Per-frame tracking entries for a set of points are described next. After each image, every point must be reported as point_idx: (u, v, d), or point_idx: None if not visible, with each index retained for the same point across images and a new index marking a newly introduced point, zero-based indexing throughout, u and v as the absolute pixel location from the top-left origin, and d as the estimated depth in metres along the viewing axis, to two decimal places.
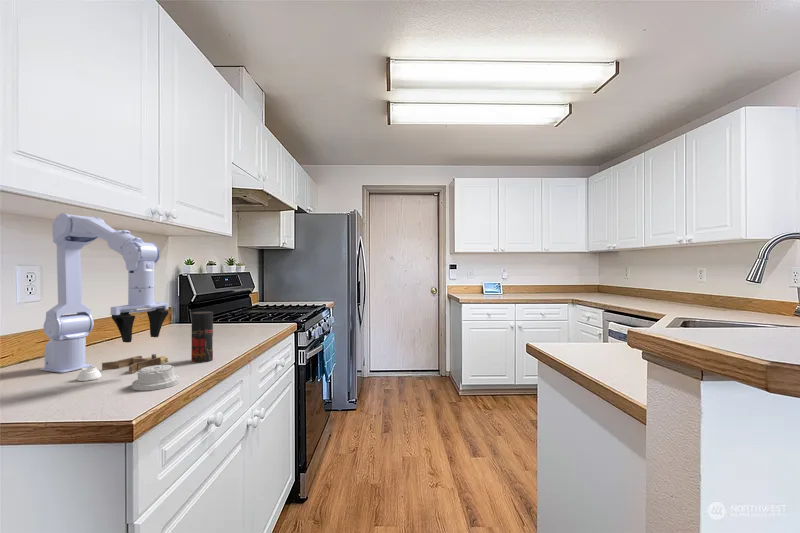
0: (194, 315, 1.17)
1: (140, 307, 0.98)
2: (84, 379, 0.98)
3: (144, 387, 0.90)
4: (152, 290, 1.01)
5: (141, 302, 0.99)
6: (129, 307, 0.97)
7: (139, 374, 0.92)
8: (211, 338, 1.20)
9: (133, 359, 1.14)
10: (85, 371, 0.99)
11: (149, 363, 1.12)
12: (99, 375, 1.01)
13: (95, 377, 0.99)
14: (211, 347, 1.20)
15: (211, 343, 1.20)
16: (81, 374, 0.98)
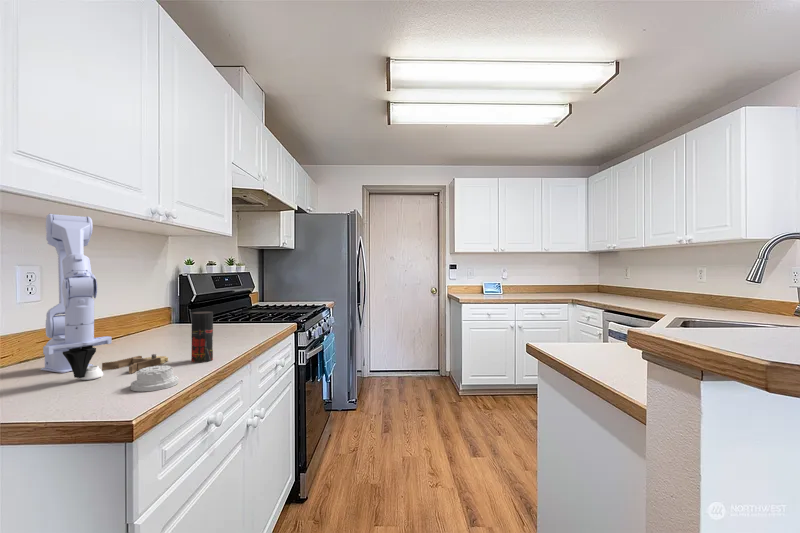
0: (194, 315, 1.17)
1: (76, 345, 0.95)
2: (86, 378, 0.98)
3: (143, 388, 0.90)
4: (91, 326, 0.98)
5: (78, 340, 0.96)
6: (64, 346, 0.93)
7: (138, 375, 0.92)
8: (211, 338, 1.20)
9: (133, 359, 1.14)
10: (87, 370, 0.99)
11: (149, 363, 1.12)
12: (101, 374, 1.01)
13: (97, 376, 1.00)
14: (211, 347, 1.20)
15: (211, 343, 1.20)
16: None
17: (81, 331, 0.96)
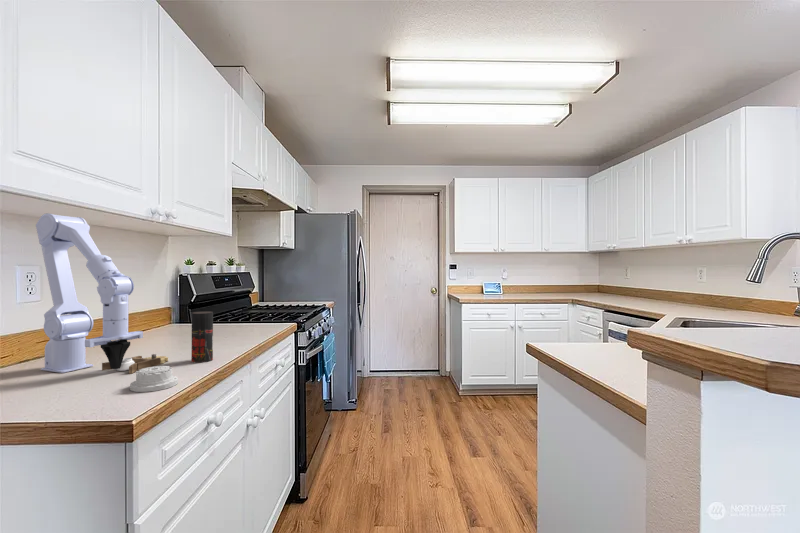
0: (194, 315, 1.17)
1: (114, 338, 1.04)
2: (122, 369, 1.07)
3: (142, 389, 0.89)
4: (126, 321, 1.07)
5: (115, 334, 1.04)
6: (103, 339, 1.02)
7: (137, 375, 0.91)
8: (211, 338, 1.20)
9: (133, 359, 1.14)
10: (122, 361, 1.08)
11: (149, 363, 1.12)
12: None
13: None
14: (211, 347, 1.20)
15: (211, 343, 1.20)
16: None
17: (118, 326, 1.05)
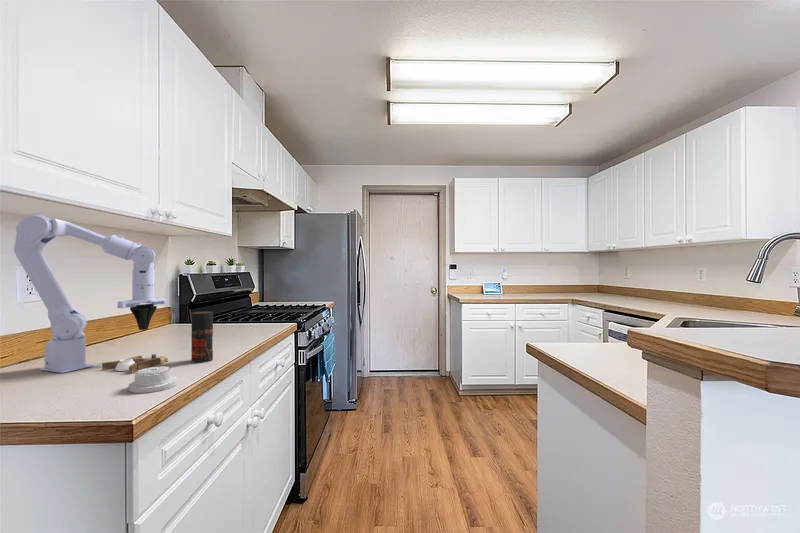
0: (194, 315, 1.17)
1: (142, 302, 1.16)
2: (122, 369, 1.07)
3: (141, 390, 0.89)
4: (152, 287, 1.19)
5: (143, 298, 1.16)
6: (133, 302, 1.14)
7: (136, 376, 0.91)
8: (211, 338, 1.20)
9: (133, 359, 1.14)
10: (123, 362, 1.08)
11: (149, 363, 1.12)
12: None
13: None
14: (211, 347, 1.20)
15: (211, 343, 1.20)
16: (119, 365, 1.08)
17: (146, 291, 1.17)
